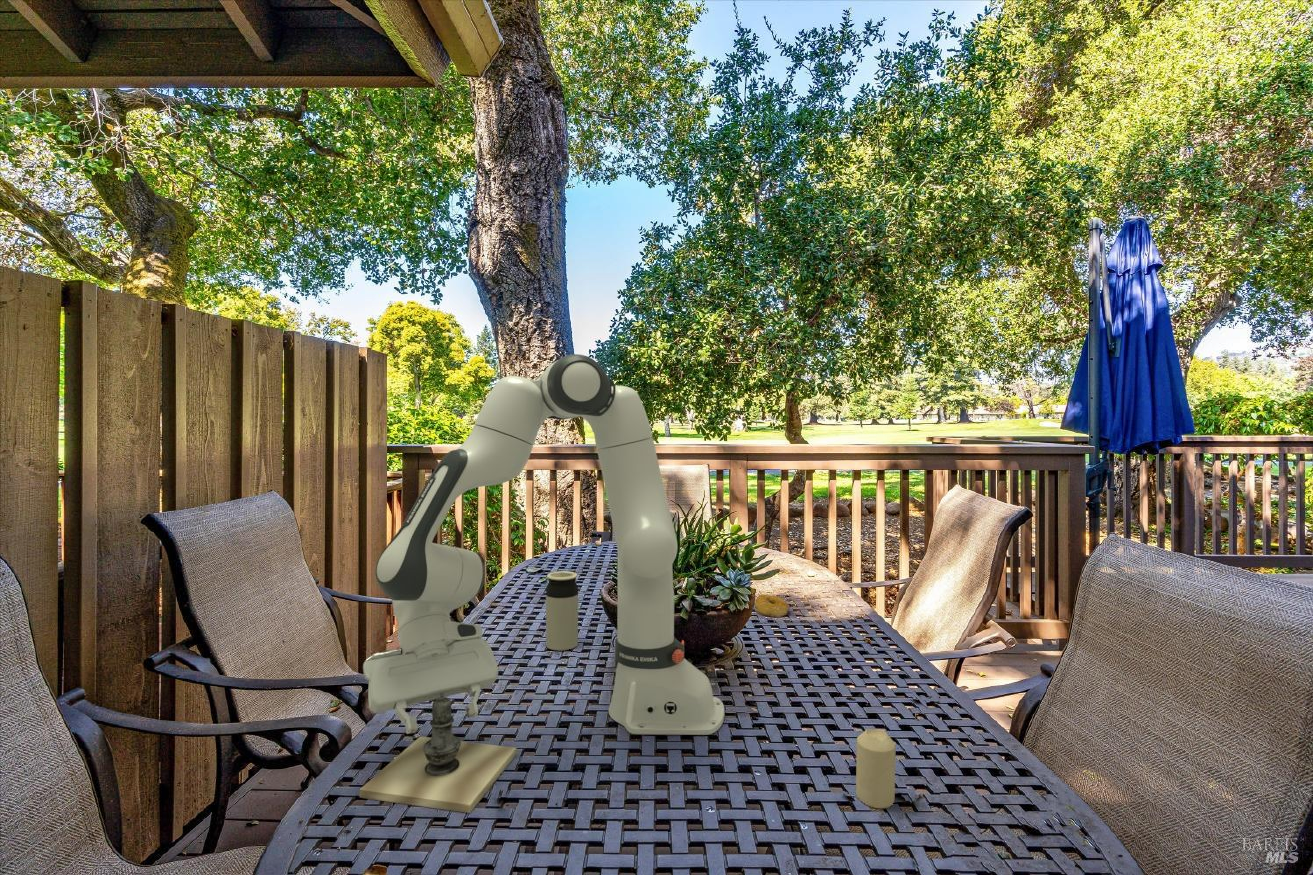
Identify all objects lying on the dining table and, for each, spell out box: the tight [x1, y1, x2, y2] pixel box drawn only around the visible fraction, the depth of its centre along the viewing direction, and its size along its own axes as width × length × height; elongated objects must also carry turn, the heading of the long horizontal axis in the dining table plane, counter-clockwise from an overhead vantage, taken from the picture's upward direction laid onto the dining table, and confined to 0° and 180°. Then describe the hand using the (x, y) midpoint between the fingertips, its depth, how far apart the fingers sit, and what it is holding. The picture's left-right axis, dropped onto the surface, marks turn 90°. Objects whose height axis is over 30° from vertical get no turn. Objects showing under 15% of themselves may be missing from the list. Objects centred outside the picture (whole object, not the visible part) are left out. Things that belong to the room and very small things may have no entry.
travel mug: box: [545, 570, 579, 652], centre depth 156 cm, size 8×8×18 cm
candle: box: [855, 728, 897, 809], centre depth 94 cm, size 6×6×10 cm
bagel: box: [754, 594, 789, 618], centre depth 185 cm, size 10×11×5 cm
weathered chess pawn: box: [423, 693, 462, 776], centre depth 99 cm, size 6×6×12 cm
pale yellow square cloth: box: [358, 736, 517, 814], centre depth 99 cm, size 18×16×1 cm
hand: (443, 723), depth 99 cm, fingers open, 8 cm apart
